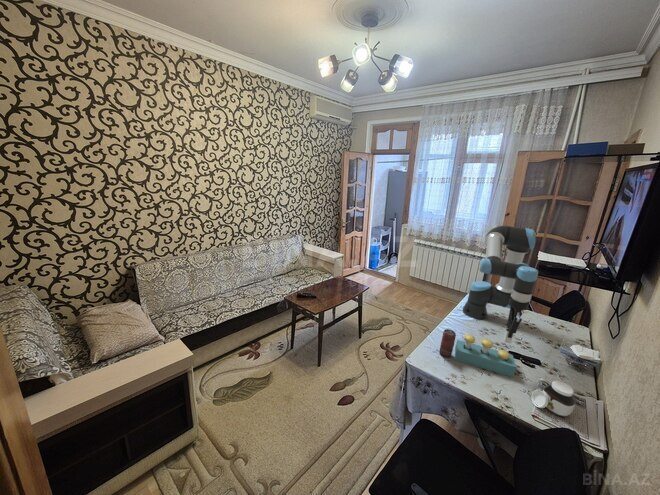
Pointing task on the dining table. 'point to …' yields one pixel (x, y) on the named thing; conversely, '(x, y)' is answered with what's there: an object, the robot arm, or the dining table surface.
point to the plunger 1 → (469, 341)
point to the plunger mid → (486, 346)
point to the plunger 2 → (503, 355)
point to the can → (447, 343)
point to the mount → (484, 359)
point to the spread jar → (555, 398)
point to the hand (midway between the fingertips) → (507, 341)
